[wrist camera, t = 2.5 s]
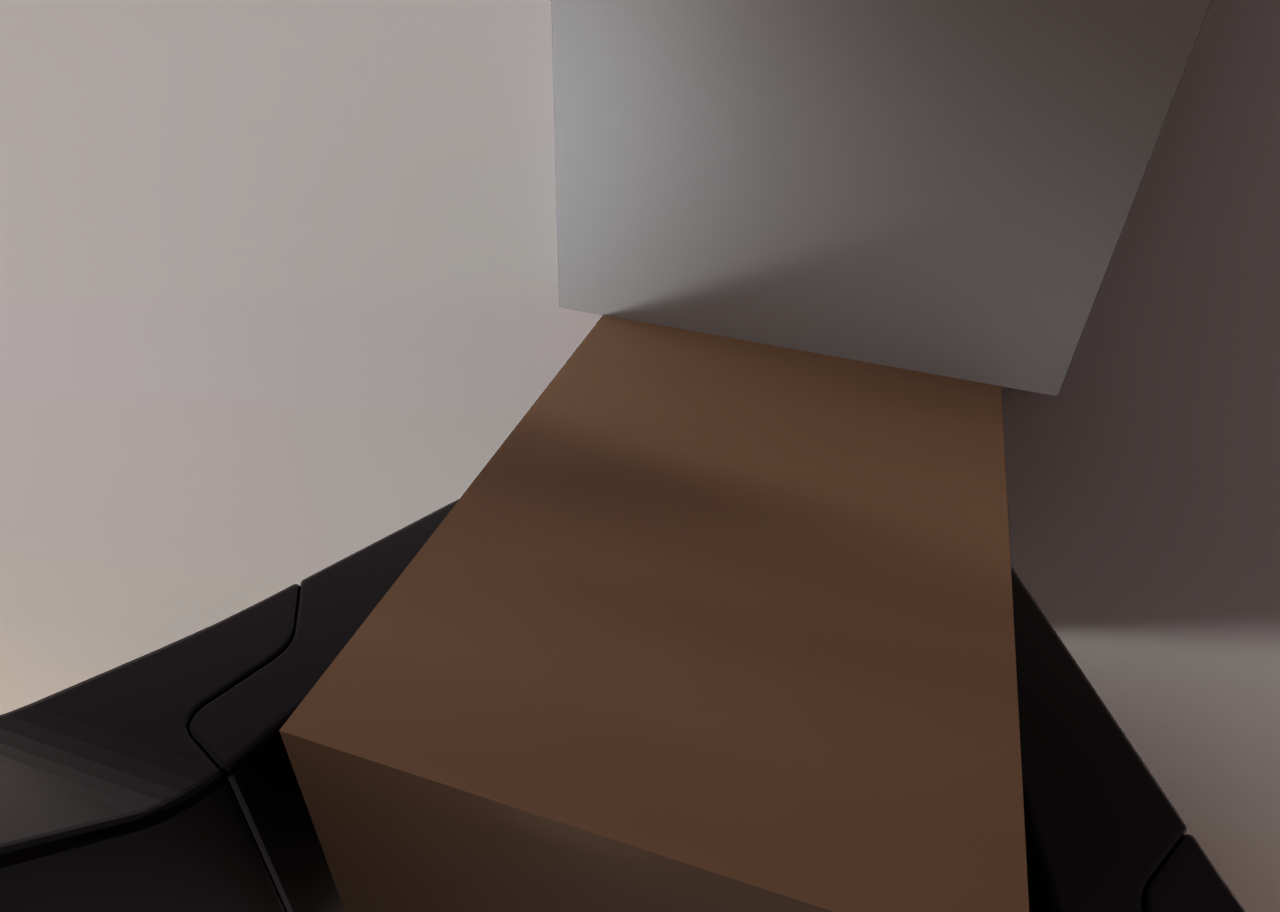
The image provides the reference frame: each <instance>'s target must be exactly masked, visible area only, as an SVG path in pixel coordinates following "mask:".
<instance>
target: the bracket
mask: <svg viewBox="0 0 1280 912" xmlns="http://www.w3.org/2000/svg"><path fill="white" fill-rule="evenodd" d="M1210 2H1211V0H551V13H552V51H553V89H554V127H555V165H556V203H557V241H558V279H559V307H561V308H567V309H573V310H578V311H584V312H589V313H595V314H601V315H603V316H602V317H601V319H600V320H599V321H598V323H597V324H596V325H595V326H594V328H593V329H592V330H591V332H590V333H589V334H588V335H587V337H586V338H585V339H584V340H583V342H582V343H581V344H580V346H579V347H578V348H577V349H576V351H575V352H574V353H573V355H572V356H571V357H570V358H569V360H568V361H567V362H566V364H565V365H564V366H563V367H562V369H561V370H560V371H559V373H558V374H557V375H556V376H555V378H554V379H553V380H552V381H551V383H550V384H549V385H548V387H547V388H546V389H545V390H544V392H543V393H542V394H541V396H540V397H539V398H538V399H537V401H536V402H535V403H534V405H533V406H532V407H531V408H530V410H529V411H528V412H527V414H526V415H525V416H524V417H523V419H522V420H521V421H520V422H519V424H518V425H517V426H516V428H515V429H514V430H513V431H512V433H511V434H510V435H509V437H508V438H507V439H506V440H505V442H504V443H503V444H502V446H501V447H500V448H499V449H498V451H497V452H496V453H495V455H494V456H493V457H492V458H491V460H490V461H489V462H488V463H487V465H486V466H485V467H484V469H483V470H482V471H481V472H480V474H479V475H478V476H477V478H476V479H475V480H474V481H473V483H472V484H471V485H470V487H469V488H468V489H467V490H466V492H465V493H464V494H463V496H462V497H461V498H460V499H459V501H458V502H457V503H456V504H455V506H454V507H453V508H452V510H451V511H450V512H449V513H448V515H447V516H446V517H445V519H444V520H443V521H442V522H441V524H440V525H439V526H438V528H437V529H436V530H435V531H434V533H433V534H432V535H431V537H430V538H429V539H428V540H427V542H426V543H425V544H424V546H423V547H422V548H421V549H420V551H419V552H418V553H417V554H416V556H415V557H414V558H413V560H412V561H411V562H410V563H409V565H408V566H407V567H406V569H405V570H404V571H403V572H402V574H401V575H400V576H399V578H398V579H397V580H396V581H395V583H394V584H393V585H392V587H391V588H390V589H389V590H388V592H387V593H386V594H385V595H384V597H383V598H382V599H381V601H380V602H379V603H378V604H377V606H376V607H375V608H374V610H373V611H372V612H371V613H370V615H369V616H368V617H367V619H366V620H365V621H364V622H363V624H362V625H361V626H360V628H359V629H358V630H357V631H356V633H355V634H354V635H353V636H352V638H351V639H350V640H349V642H348V643H347V644H346V645H345V647H344V648H343V649H342V651H341V652H340V653H339V654H338V656H337V657H336V658H335V660H334V661H333V662H332V663H331V665H330V666H329V667H328V669H327V670H326V671H325V672H324V674H323V675H322V676H321V677H320V679H319V680H318V681H317V683H316V684H315V685H314V686H313V688H312V689H311V690H310V692H309V693H308V694H307V695H306V697H305V698H304V699H303V701H302V702H301V703H300V704H299V706H298V707H297V708H296V710H295V711H294V712H293V713H292V715H291V716H290V717H289V718H288V720H287V721H286V722H285V724H284V725H283V726H282V727H281V729H280V730H279V732H280V734H281V737H282V740H283V743H284V745H285V748H286V751H287V754H288V756H289V759H290V762H291V765H292V767H293V770H294V773H295V775H296V778H297V781H298V784H299V786H300V789H301V792H302V795H303V797H304V800H305V803H306V806H307V808H308V811H309V814H310V817H311V819H312V822H313V825H314V828H315V830H316V833H317V836H318V839H319V841H320V844H321V847H322V850H323V852H324V855H325V858H326V861H327V863H328V866H329V869H330V871H331V874H332V877H333V880H334V882H335V885H336V888H337V891H338V893H339V896H340V899H341V902H342V904H343V907H344V910H345V912H1029V897H1028V878H1027V860H1026V841H1025V822H1024V803H1023V785H1022V766H1021V747H1020V728H1019V709H1018V691H1017V672H1016V653H1015V634H1014V616H1013V597H1012V578H1011V559H1010V540H1009V522H1008V503H1007V484H1006V465H1005V447H1004V428H1003V409H1002V390H1001V386H1002V387H1008V388H1013V389H1019V390H1024V391H1030V392H1036V393H1041V394H1047V395H1052V396H1058V394H1059V391H1060V388H1061V386H1062V383H1063V381H1064V378H1065V376H1066V373H1067V370H1068V368H1069V365H1070V363H1071V360H1072V358H1073V355H1074V352H1075V350H1076V347H1077V345H1078V342H1079V340H1080V337H1081V334H1082V332H1083V329H1084V327H1085V324H1086V322H1087V319H1088V316H1089V314H1090V311H1091V309H1092V306H1093V304H1094V301H1095V298H1096V296H1097V293H1098V291H1099V288H1100V286H1101V283H1102V280H1103V278H1104V275H1105V273H1106V270H1107V268H1108V265H1109V262H1110V260H1111V257H1112V255H1113V252H1114V250H1115V247H1116V244H1117V242H1118V239H1119V237H1120V234H1121V232H1122V229H1123V226H1124V224H1125V221H1126V219H1127V216H1128V213H1129V211H1130V208H1131V206H1132V203H1133V201H1134V198H1135V195H1136V193H1137V190H1138V188H1139V185H1140V183H1141V180H1142V177H1143V175H1144V172H1145V170H1146V167H1147V165H1148V162H1149V159H1150V157H1151V154H1152V152H1153V149H1154V147H1155V144H1156V141H1157V139H1158V136H1159V134H1160V131H1161V129H1162V126H1163V123H1164V121H1165V118H1166V116H1167V113H1168V111H1169V108H1170V105H1171V103H1172V100H1173V98H1174V95H1175V93H1176V90H1177V87H1178V85H1179V82H1180V80H1181V77H1182V75H1183V72H1184V69H1185V67H1186V64H1187V62H1188V59H1189V57H1190V54H1191V51H1192V49H1193V46H1194V44H1195V41H1196V39H1197V36H1198V33H1199V31H1200V28H1201V26H1202V23H1203V20H1204V18H1205V15H1206V13H1207V10H1208V8H1209V5H1210Z"/></svg>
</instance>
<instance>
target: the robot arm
mask: <svg viewBox="0 0 1280 912" xmlns="http://www.w3.org/2000/svg"><path fill="white" fill-rule="evenodd" d="M458 501H459V499H458V500H456V501H454V502H452V503H450V504H449V505H447V506H445V507H443V508H441V509H439V510H437V511H435V512H433V513H431V514H429V515H427V516H425V517H423V518H422V519H420V520H418V521H416V522H414V523H412V524H410V525H408V526H406V527H404V528H402V529H400V530H398V531H396V532H395V533H393V534H391V535H389V536H387V537H385V538H383V539H381V540H379V541H377V542H375V543H373V544H371V545H369V546H368V547H366V548H364V549H362V550H360V551H358V552H356V553H354V554H352V555H350V556H348V557H346V558H344V559H343V560H341V561H339V562H337V563H335V564H333V565H331V566H329V567H327V568H325V569H323V570H321V571H319V572H317V573H316V574H314V575H312V576H310V577H308V578H306V579H304V580H303V581H302V582H301V585H300V586H299V585H297V584H294V585H292V586H290V587H288V588H286V589H284V590H282V591H280V592H278V593H276V594H275V595H273V596H271V597H269V598H267V599H265V600H263V601H261V602H259V603H257V604H255V605H253V606H251V607H249V608H247V609H245V610H243V611H241V612H239V613H237V614H235V615H233V616H230V617H228V618H226V619H224V620H222V621H220V622H218V623H216V624H214V625H212V626H210V627H207V628H205V629H203V630H201V631H198V632H196V633H194V634H192V635H190V636H187V637H185V638H183V639H181V640H178V641H176V642H174V643H172V644H169V645H167V646H165V647H163V648H160V649H158V650H156V651H153V652H151V653H149V654H146V655H144V656H142V657H139V658H137V659H135V660H132V661H130V662H128V663H125V664H123V665H121V666H118V667H116V668H114V669H111V670H109V671H107V672H104V673H102V674H100V675H97V676H95V677H93V678H90V679H88V680H86V681H83V682H81V683H78V684H76V685H74V686H71V687H69V688H67V689H64V690H62V691H60V692H57V693H55V694H53V695H50V696H48V697H46V698H43V699H41V700H39V701H36V702H34V703H32V704H29V705H27V706H24V707H21V708H19V709H16V710H14V711H11V712H9V713H6V714H3V715H0V912H345V910H344V907H343V904H342V902H341V899H340V896H339V893H338V891H337V888H336V885H335V882H334V880H333V877H332V874H331V871H330V869H329V866H328V863H327V861H326V858H325V855H324V852H323V850H322V847H321V844H320V841H319V839H318V836H317V833H316V830H315V828H314V825H313V822H312V819H311V817H310V814H309V811H308V808H307V806H306V803H305V800H304V797H303V795H302V792H301V789H300V786H299V784H298V781H297V778H296V775H295V773H294V770H293V767H292V765H291V762H290V759H289V756H288V754H287V751H286V748H285V745H284V743H283V740H282V737H281V734H280V732H279V730H280V729H281V727H282V726H283V725H284V724H285V722H286V721H287V720H288V718H289V717H290V716H291V715H292V713H293V712H294V711H295V710H296V708H297V707H298V706H299V704H300V703H301V702H302V701H303V699H304V698H305V697H306V695H307V694H308V693H309V692H310V690H311V689H312V688H313V686H314V685H315V684H316V683H317V681H318V680H319V679H320V677H321V676H322V675H323V674H324V672H325V671H326V670H327V669H328V667H329V666H330V665H331V663H332V662H333V661H334V660H335V658H336V657H337V656H338V654H339V653H340V652H341V651H342V649H343V648H344V647H345V645H346V644H347V643H348V642H349V640H350V639H351V638H352V636H353V635H354V634H355V633H356V631H357V630H358V629H359V628H360V626H361V625H362V624H363V622H364V621H365V620H366V619H367V617H368V616H369V615H370V613H371V612H372V611H373V610H374V608H375V607H376V606H377V604H378V603H379V602H380V601H381V599H382V598H383V597H384V595H385V594H386V593H387V592H388V590H389V589H390V588H391V587H392V585H393V584H394V583H395V581H396V580H397V579H398V578H399V576H400V575H401V574H402V572H403V571H404V570H405V569H406V567H407V566H408V565H409V563H410V562H411V561H412V560H413V558H414V557H415V556H416V554H417V553H418V552H419V551H420V549H421V548H422V547H423V546H424V544H425V543H426V542H427V540H428V539H429V538H430V537H431V535H432V534H433V533H434V531H435V530H436V529H437V528H438V526H439V525H440V524H441V522H442V521H443V520H444V519H445V517H446V516H447V515H448V513H449V512H450V511H451V510H452V508H453V507H454V506H455V504H456V503H457V502H458ZM1011 578H1012V597H1013V616H1014V634H1015V653H1016V672H1017V691H1018V709H1019V728H1020V747H1021V766H1022V785H1023V803H1024V822H1025V841H1026V860H1027V878H1028V897H1029V912H1246V911H1245V910H1244V909H1243V907H1242V906H1241V904H1240V903H1239V902H1238V900H1237V899H1236V897H1235V896H1234V894H1233V893H1232V892H1231V890H1230V889H1229V887H1228V886H1227V885H1226V883H1225V882H1224V880H1223V879H1222V877H1221V876H1220V875H1219V873H1218V872H1217V870H1216V869H1215V867H1214V866H1213V864H1212V863H1211V861H1210V860H1209V858H1208V857H1207V855H1206V854H1205V852H1204V851H1203V849H1202V848H1201V846H1200V845H1199V843H1198V842H1197V840H1196V839H1195V838H1194V837H1193V836H1192V835H1188V834H1187V835H1185V834H1186V832H1187V826H1186V825H1185V823H1184V822H1183V820H1182V819H1181V817H1180V816H1179V814H1178V813H1177V811H1176V810H1175V808H1174V807H1173V805H1172V804H1171V803H1170V801H1169V800H1168V798H1167V797H1166V795H1165V794H1164V792H1163V791H1162V789H1161V788H1160V786H1159V785H1158V783H1157V782H1156V780H1155V779H1154V777H1153V776H1152V774H1151V773H1150V771H1149V770H1148V768H1147V767H1146V765H1145V764H1144V762H1143V761H1142V759H1141V758H1140V757H1139V755H1138V754H1137V752H1136V751H1135V749H1134V748H1133V746H1132V745H1131V743H1130V742H1129V740H1128V739H1127V737H1126V736H1125V734H1124V733H1123V731H1122V730H1121V728H1120V727H1119V725H1118V724H1117V722H1116V721H1115V719H1114V718H1113V716H1112V715H1111V713H1110V712H1109V710H1108V709H1107V708H1106V706H1105V705H1104V703H1103V702H1102V700H1101V699H1100V697H1099V696H1098V694H1097V693H1096V691H1095V690H1094V688H1093V687H1092V685H1091V684H1090V682H1089V681H1088V679H1087V678H1086V676H1085V675H1084V673H1083V672H1082V670H1081V669H1080V667H1079V666H1078V664H1077V663H1076V661H1075V660H1074V659H1073V657H1072V656H1071V654H1070V653H1069V651H1068V650H1067V648H1066V647H1065V645H1064V644H1063V642H1062V641H1061V639H1060V638H1059V636H1058V635H1057V633H1056V632H1055V630H1054V629H1053V627H1052V626H1051V624H1050V623H1049V621H1048V620H1047V618H1046V617H1045V615H1044V614H1043V613H1042V611H1041V610H1040V608H1039V607H1038V605H1037V604H1036V602H1035V601H1034V599H1033V598H1032V596H1031V595H1030V593H1029V592H1028V590H1027V589H1026V587H1025V586H1024V584H1023V583H1022V581H1021V580H1020V578H1019V577H1018V575H1017V574H1016V572H1015V571H1014V569H1013V568H1012V566H1011ZM1184 835H1185V836H1184Z"/></svg>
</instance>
